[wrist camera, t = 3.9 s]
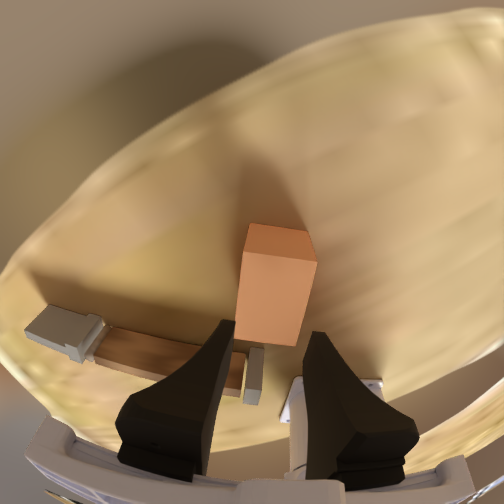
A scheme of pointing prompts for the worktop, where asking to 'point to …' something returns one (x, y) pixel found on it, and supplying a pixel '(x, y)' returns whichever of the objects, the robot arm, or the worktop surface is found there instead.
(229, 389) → the gate door
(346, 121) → the worktop surface
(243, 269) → the terracotta rectangular block
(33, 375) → the worktop surface
